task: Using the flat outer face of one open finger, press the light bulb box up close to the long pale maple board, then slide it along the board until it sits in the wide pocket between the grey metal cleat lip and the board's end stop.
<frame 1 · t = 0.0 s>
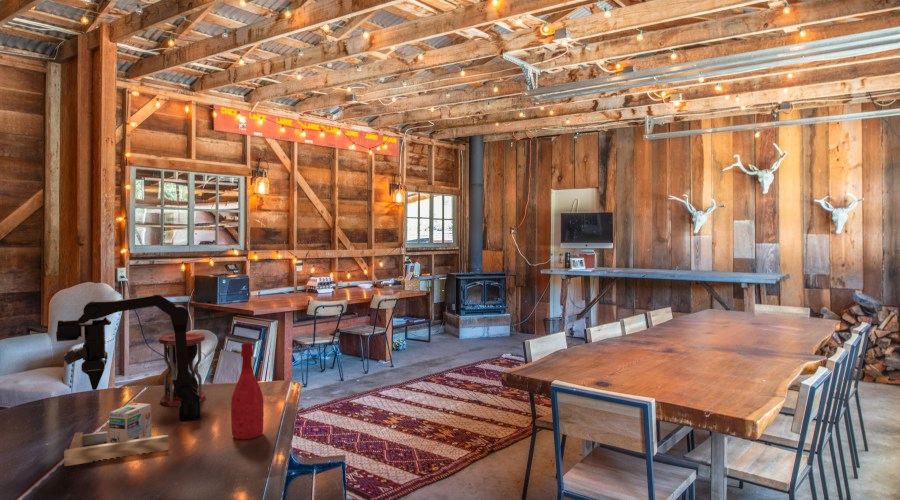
hand: (95, 386, 190), 15 cm above the table, tool pointing down, fingers open, 9 cm apart
light bulb box: (131, 442, 180), on the table
cleat lip: (95, 443, 179), on the table
wine bottle: (247, 436, 186), on the table
wall board: (118, 456, 168), on the table
hourglass: (183, 400, 225), on the table
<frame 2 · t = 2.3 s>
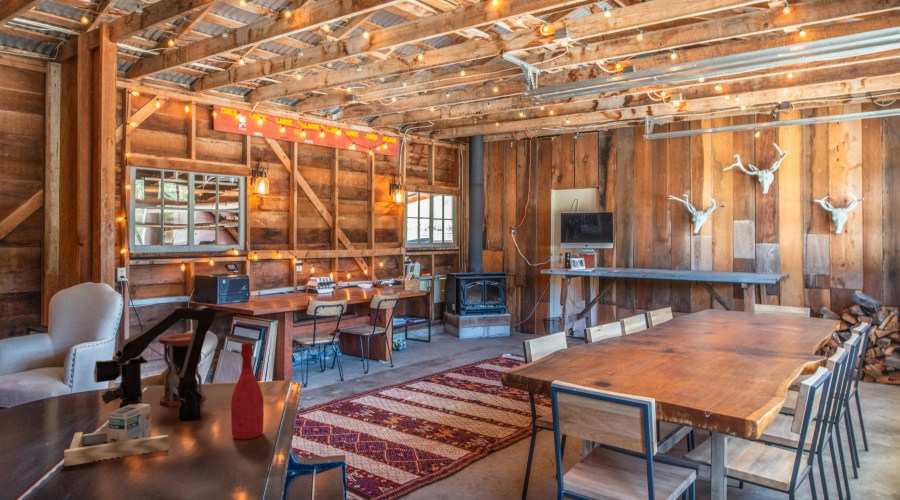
hand: (131, 424, 192), 2 cm above the table, tool pointing down, fingers open, 8 cm apart
light bulb box: (130, 443, 180), on the table, touching gripper
everything else where it was.
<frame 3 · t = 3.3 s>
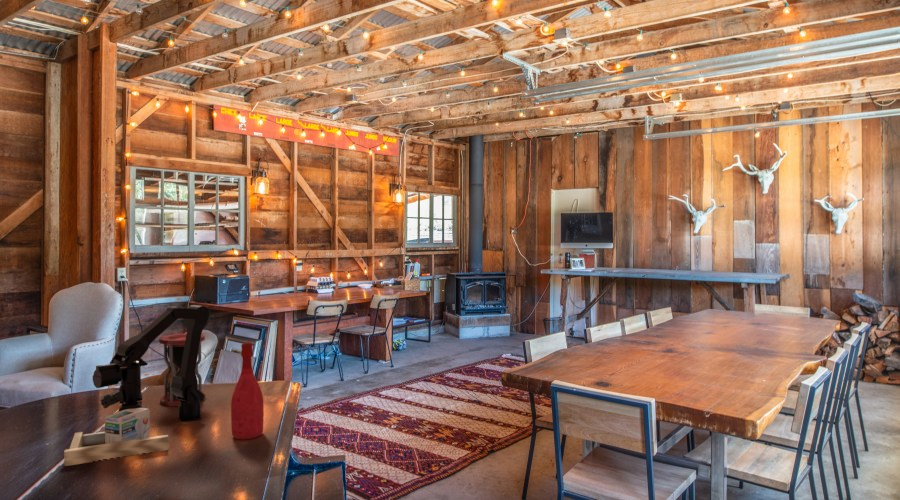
hand: (131, 429, 187), 2 cm above the table, tool pointing down, fingers open, 7 cm apart
light bulb box: (128, 448, 175), on the table, touching gripper, wall board
everything else where it was.
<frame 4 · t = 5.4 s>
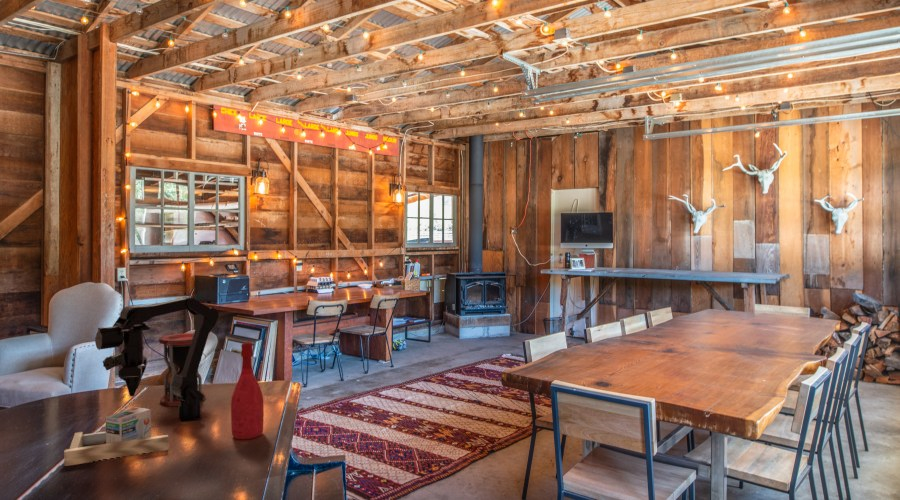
hand: (133, 392, 189), 13 cm above the table, tool pointing down, fingers open, 9 cm apart
light bulb box: (129, 448, 175), on the table
everything else where it was.
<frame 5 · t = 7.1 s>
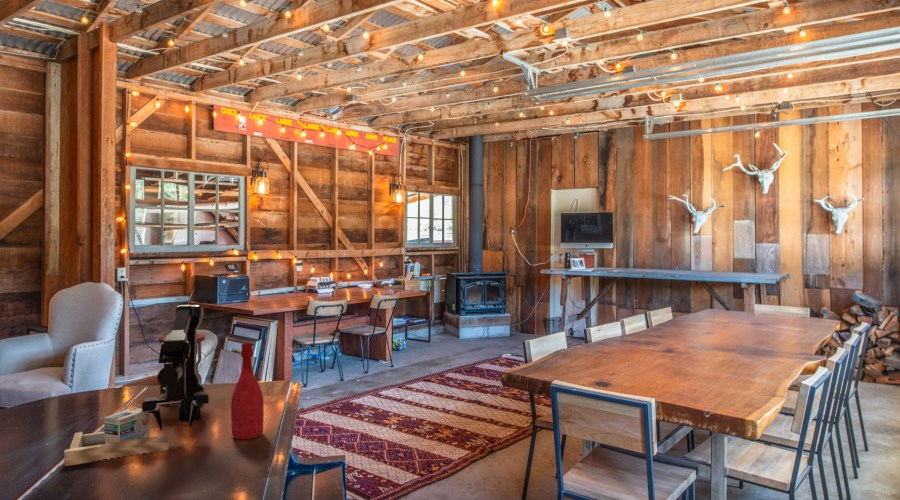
hand: (176, 428, 182), 4 cm above the table, tool pointing down, fingers open, 8 cm apart
light bulb box: (127, 448, 175), on the table, touching gripper
everything else where it was.
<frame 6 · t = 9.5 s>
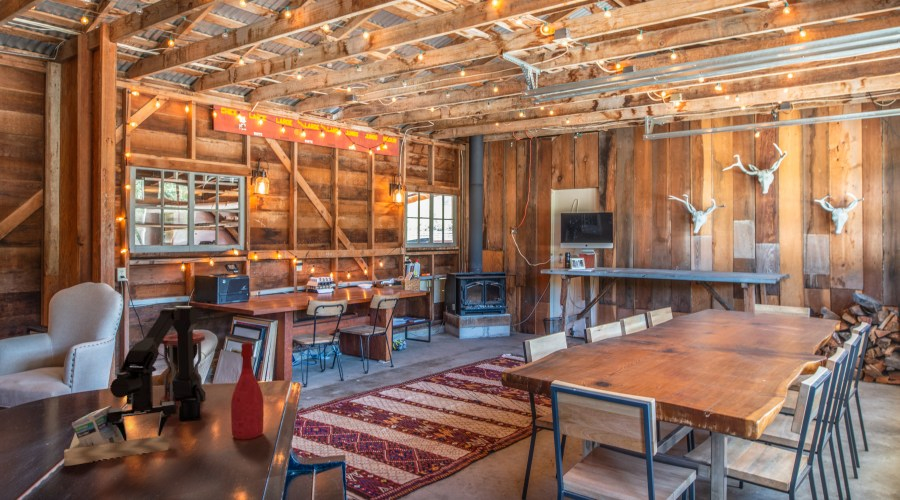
hand: (142, 439, 177), 2 cm above the table, tool pointing down, fingers open, 9 cm apart
light bulb box: (105, 447, 173), point 1 cm above the table, touching gripper
everything else where it was.
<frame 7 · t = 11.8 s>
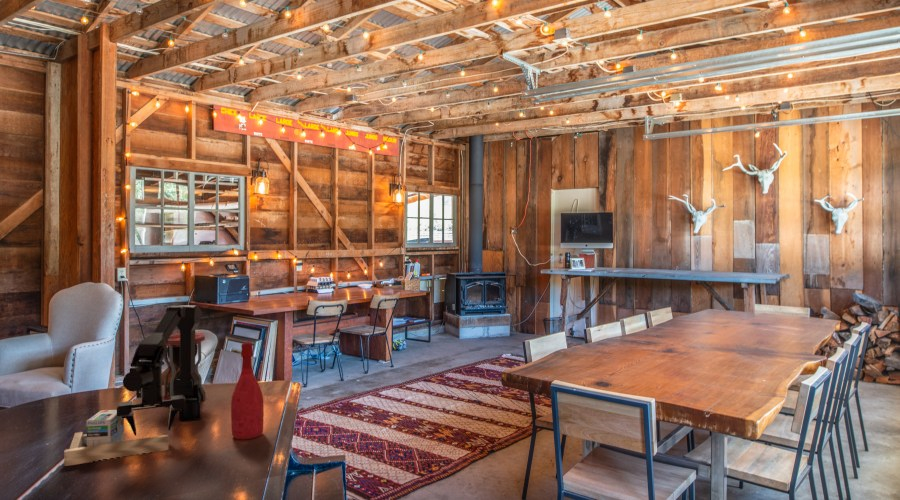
hand: (152, 432, 179), 3 cm above the table, tool pointing down, fingers open, 9 cm apart
light bulb box: (106, 450, 173), on the table
everything else where it was.
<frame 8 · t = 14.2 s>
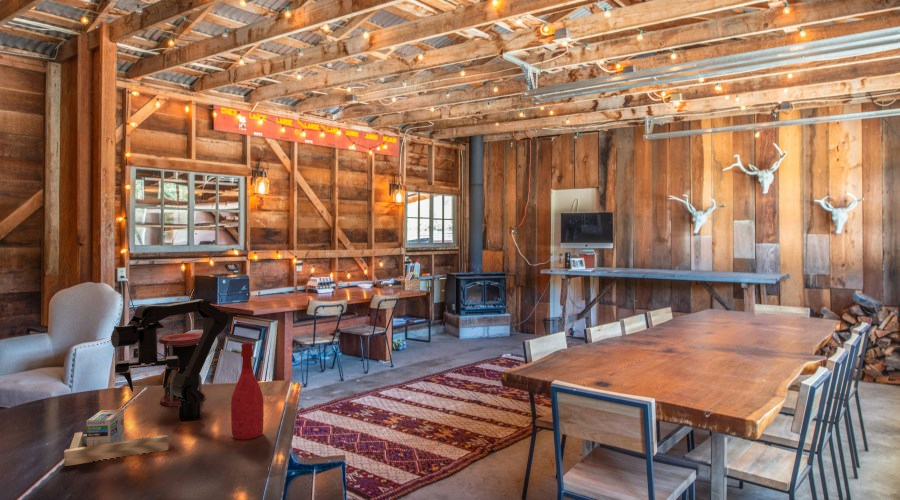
hand: (148, 389, 192), 13 cm above the table, tool pointing down, fingers open, 9 cm apart
nothing on the table moved.
at the end: light bulb box inside the target area (2.9 cm from its centre), on the table; light bulb box tilted 0° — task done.
